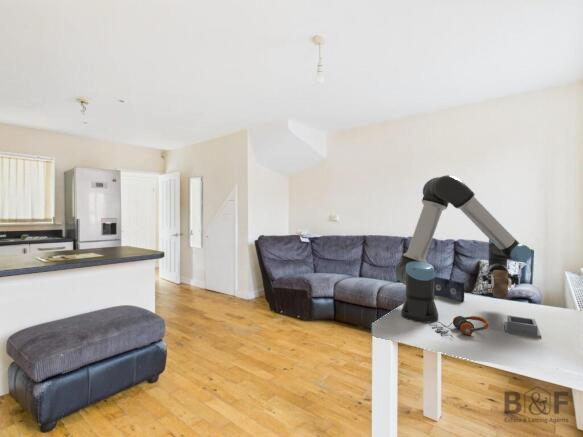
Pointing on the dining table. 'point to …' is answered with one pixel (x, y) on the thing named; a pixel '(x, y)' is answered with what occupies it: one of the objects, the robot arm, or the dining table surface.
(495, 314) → the dining table surface
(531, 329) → the grey square tray
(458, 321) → the headphones
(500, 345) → the dining table surface
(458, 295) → the vhs cassette tape
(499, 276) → the walnut cylinder
